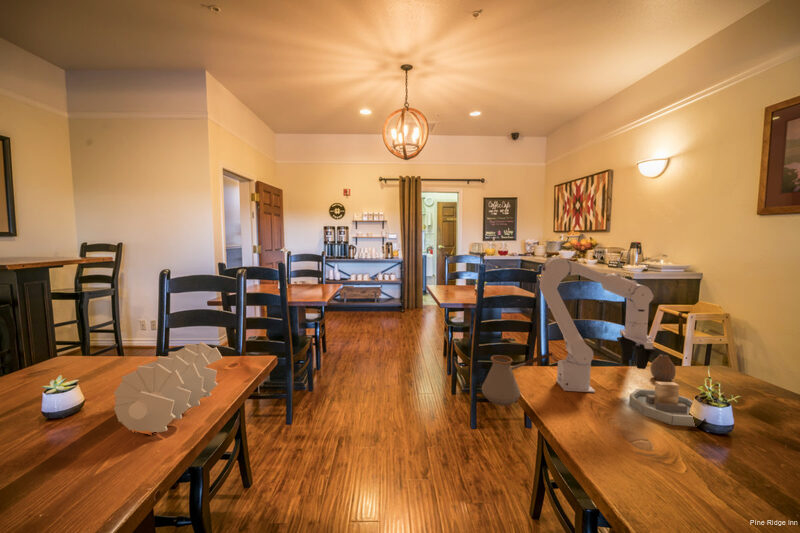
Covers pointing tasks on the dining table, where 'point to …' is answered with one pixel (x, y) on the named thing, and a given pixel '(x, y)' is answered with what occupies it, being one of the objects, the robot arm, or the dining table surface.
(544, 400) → the dining table surface
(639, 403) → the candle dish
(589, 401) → the dining table surface
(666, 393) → the pine wood chunk
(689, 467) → the dining table surface
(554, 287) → the robot arm
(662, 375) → the vase
